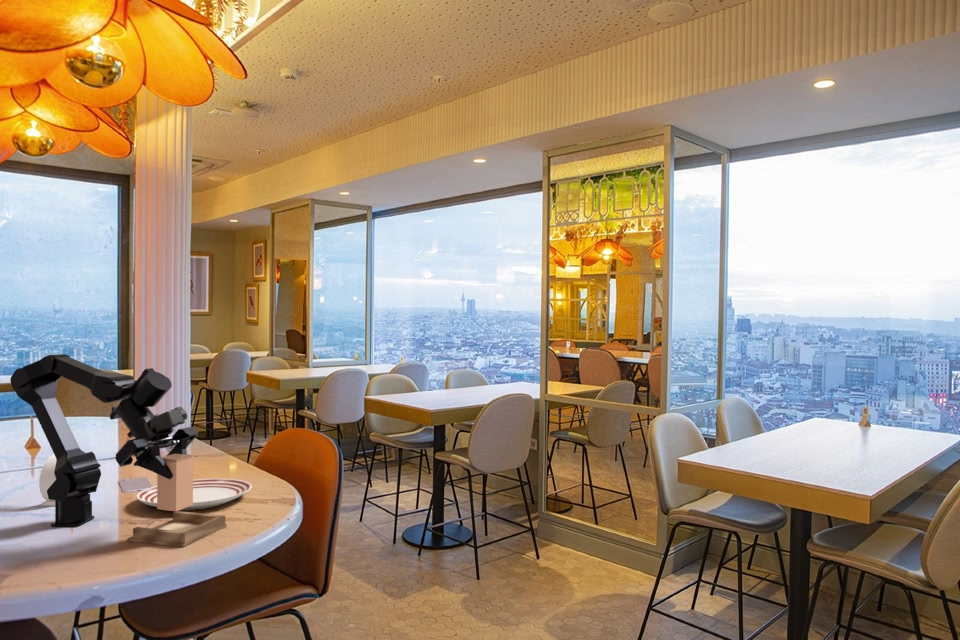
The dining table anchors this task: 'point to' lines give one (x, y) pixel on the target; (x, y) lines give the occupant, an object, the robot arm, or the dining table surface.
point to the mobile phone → (135, 484)
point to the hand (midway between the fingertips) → (180, 474)
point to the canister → (176, 483)
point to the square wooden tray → (180, 529)
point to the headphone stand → (47, 479)
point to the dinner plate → (204, 493)
